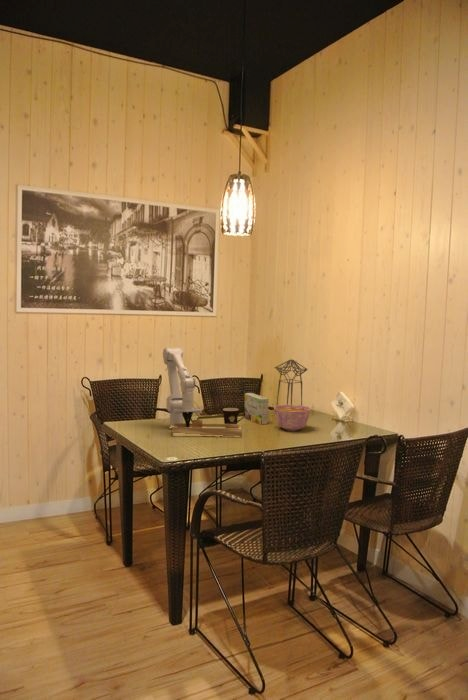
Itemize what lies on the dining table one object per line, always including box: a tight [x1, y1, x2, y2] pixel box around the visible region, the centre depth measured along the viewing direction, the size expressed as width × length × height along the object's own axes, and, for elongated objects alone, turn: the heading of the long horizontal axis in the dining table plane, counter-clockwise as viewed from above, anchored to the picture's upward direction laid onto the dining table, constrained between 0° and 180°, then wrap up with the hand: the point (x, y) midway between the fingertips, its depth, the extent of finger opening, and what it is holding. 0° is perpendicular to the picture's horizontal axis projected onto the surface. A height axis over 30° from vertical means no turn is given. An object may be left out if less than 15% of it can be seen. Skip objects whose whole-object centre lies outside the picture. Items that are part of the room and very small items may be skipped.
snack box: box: [244, 392, 269, 426], centre depth 322 cm, size 21×6×15 cm, turn 25°
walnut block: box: [191, 419, 203, 428], centre depth 288 cm, size 5×5×4 cm
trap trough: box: [171, 422, 242, 437], centre depth 288 cm, size 11×36×4 cm, turn 89°
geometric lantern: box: [274, 359, 308, 407], centre depth 335 cm, size 16×16×35 cm
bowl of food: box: [273, 404, 311, 432], centre depth 302 cm, size 20×20×12 cm
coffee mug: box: [222, 407, 245, 424], centre depth 305 cm, size 12×9×10 cm
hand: (187, 426), depth 288 cm, fingers closed
